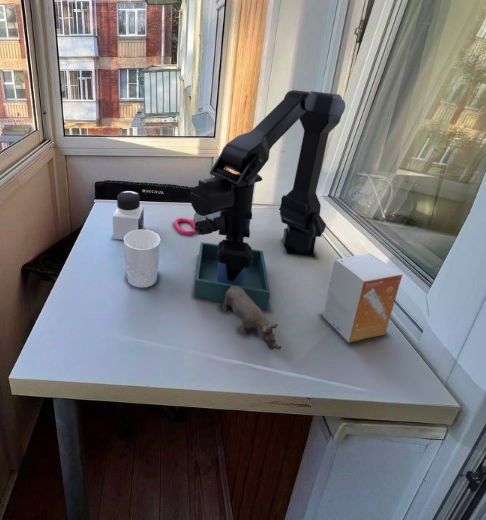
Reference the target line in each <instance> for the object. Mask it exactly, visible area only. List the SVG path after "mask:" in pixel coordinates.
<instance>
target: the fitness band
mask: <svg viewBox="0 0 486 520" xmlns="http://www.w3.org/2000/svg"><path fill="white" fill-rule="evenodd" d="M193 220H194V218H190V219H189V218H185V217H177V218H175V220H174V227H175V228H176V230H177V231H178V233H179V234H182V235H186V236H191V235H193V234H195V233H197V231H195V224H194V221H193ZM182 222H183V223H188V224H190V225H191V226H192V227H193V228H194V229H191V230H185V229H183V228H182V227H181V226H180V224H179V223H182Z"/></svg>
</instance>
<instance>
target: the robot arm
mask: <svg viewBox="0 0 486 520" xmlns="http://www.w3.org/2000/svg"><path fill="white" fill-rule="evenodd" d="M345 110H346V101H345V100H343V97H342V95H340V94H338V93H332V92H331V93H330V92H321V91H315V90H311V91H305V90H296V89H292V90H289V91H287V92H286V94H285V95H284V97H283V99H282V100H281V102H279V103H278V104H277V105H276V106H275V107H273V109H272V110H271V111H269V113H268V114H267V115H266V116H265V117H264V118H263V119H261V121H259V123H258V124H257V125H256V126H255V127H254V128H253V129H252V130H249V131H248V132H246V133H242V134H239V135H237V136H236V137H234V138H232V139H231V140H230V141H229V142H227V143H226V144H225V145H224V146H223V148H222V150H221V153H220V154H219V155H218V157H217V159H216V161H215V162H214V164H213V166H212V168H211V169H210V171H209V175H211V176H213V177H209V178H200V179H198V185H195V186H193V188H192V189H191V192H190V194H189V198H190V199H189V200H190V204H191V207H192V209H193V210H194V212H195V213H194V215H193V221H194V224H195V228H194V229H195V231H196V234H197V235H199V236H205V235H210V234H212V233H215V232H218V235H219V236H224V237H225V238H226V237H231V238H232V241H230V240H226V239H222V240H221V241H219V242H218V258H217V261H218V262H220V263H223V264H225V265H226V271H227V278H228V280H229V281H234V280H235V278H236V277H237V276H238V275H239V273H240V272H241V271H242V270H243V269H244V268H245V267H248V268H249V267H251V266H252V259H253V256H252V249H253V247H252V246H251V245H250V244H249V243H248V242H244V241H245V240H244V238H248V239H249V238H250V236H251V231H250V225H251V220H253V211H252V210H253V209H252V208H253V201H254V192H255V184H256V183H258V182H259V183H260V182H262V181H263V177H262V176H261V175H260V174H259V173H260V171H261V170H262V169H263V168H264V166H266V163H267V162H268V161H269V159H270V151H271V150H272V148H273V146H274V145H275V144H276V143H278V141H279V140H280V139H281V138H282V137H283V136H284V135H285V134H286V133H287V132H288V131H289V130H290V129H291V128H292V126H294V124H296V122H298V121H300V124H301V126H302V129H303V136H302V140H301V145H300V151H299V156H298V160H297V165H296V171H295V176H294V180H293V181H294V182H293V187H292V189H291V190H290V191H289V192H288V193H287V194H284V195H283V196H282V197H281V199H280V200H281V201H280V206H279V208H278V210H279V216H280V221H281V224H285V225H286V227H285V228H284V229H283V235H282V246H283V248H285V252H286V254H289V255H295V256H301V257H308V258H316V253H315V246H316V242H317V241H316V240H317V238H321V237H322V234H323V233H324V232H325V231H326V227H327V223H326V222H325V220H324V219H323V218H322V216H321V208H322V207H321V202H320V200H319V197H318V195H317V188H318V185H319V179H320V175H321V170H322V165H323V161H324V158H325V157H324V156H325V151H326V147H327V143H328V138H329V135H330V133H331V132H332V131H333V130H334V129H335V128H336V127H337V126H338V125H339V124H340V122H341V120H342V115H343V114H344V113H345ZM225 168H226V169H225ZM227 169H229V170H231V171H233V172H236V173H233V172H231V171H229V170H227ZM237 238H238V240H237Z"/></svg>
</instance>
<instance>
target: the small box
mask: <svg viewBox="0 0 486 520" xmlns="http://www.w3.org/2000/svg"><path fill="white" fill-rule="evenodd" d="M402 277H403V273H401V272H399V271H398V270H396V269H395V268H394V267H392V266H390V265H389V264H387V263H386V262H385V261H383V260H382V259H380V258H379V257H377V256H375V255H374V254H373V253H365V254H359V255H358V254H357V255H351V256H346V257H342V258H336V259H334V261H333V266H332V271H331V276H330V279H329V280H330V281H329V285H328V289H327V294H326V298H325V304H324V309H323V313H322V317H323V318H324V319H325V320H326V321H327V322H328V323H329V324H330V325H331V326H332V327H333V329H335V330H336V332H338V333H339V334H340V335H341V336H342V337H343V339H344V340H345V341H346V342H348V343H349V344H351V343H353V342H358V341H361V340H365V339H370V338H376V337H380V336H385V335H386V333H387V329H388V326H389V323H390V318H391V315H392V311H393V309H394V305H395V301H396V298H397V294H398V291H399V288H400V284H401V281H402Z"/></svg>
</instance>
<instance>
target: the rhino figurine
mask: <svg viewBox="0 0 486 520" xmlns="http://www.w3.org/2000/svg"><path fill="white" fill-rule="evenodd" d="M230 306H231V308H232V311H233V313H234V315H235V316H237V317H238V318H239V319H241V322H242V325H240V329H239V331H240V333H242V334H243V335H247V334H248V333H249V330H248V328H251V330H252V332H253V333H255V334H258V336H259V338H260V339H261V340H262V342H264V344H265V346H267V348H268V349H269V350H270V351H273V350H281V349H282V348H283V346H282V345H278V344H277V342H276V336H275V334H274V333H273V329H276V328H278V326H279V324H276V323H273V324H271V323H270V322H269V320H267V318H266V316H265V314H264V311H263V309H261V308H259V307H258V306H257V305H256V304H255V303H254V302H253V300H252V299H251V298H250V297H249V296H248V295H247V294H246V292H245V291H244V290H243V289H242V288H240V287H237V286H231V287H230V288H229V289H228V290H227V292H226V294H225V299H224V302H223V304H222V306H221V309H222V310H223V311H224V312H228V311H229V310H230Z"/></svg>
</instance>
